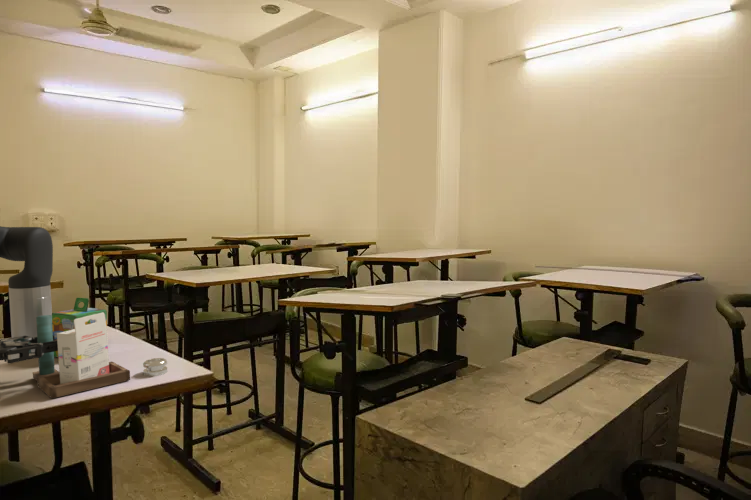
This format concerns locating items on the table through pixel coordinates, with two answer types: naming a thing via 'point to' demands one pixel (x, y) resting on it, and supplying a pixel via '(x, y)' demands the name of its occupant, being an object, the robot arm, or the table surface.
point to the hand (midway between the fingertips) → (58, 341)
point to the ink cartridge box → (83, 349)
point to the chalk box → (73, 317)
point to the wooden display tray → (51, 376)
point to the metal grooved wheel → (155, 367)
